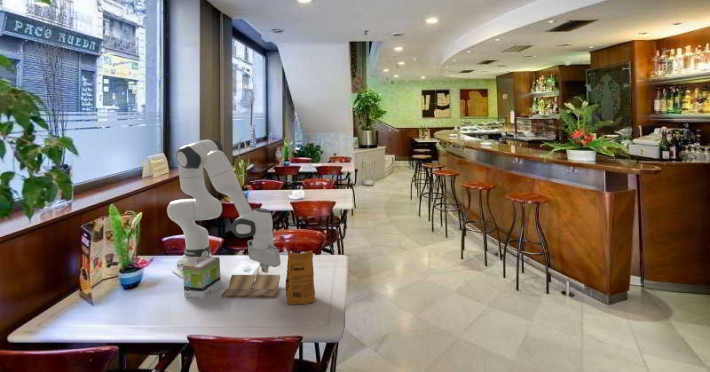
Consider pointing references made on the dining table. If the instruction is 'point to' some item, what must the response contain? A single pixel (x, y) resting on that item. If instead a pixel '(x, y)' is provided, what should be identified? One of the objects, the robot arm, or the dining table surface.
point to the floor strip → (249, 293)
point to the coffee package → (300, 278)
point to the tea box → (201, 276)
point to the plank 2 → (267, 282)
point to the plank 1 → (241, 282)
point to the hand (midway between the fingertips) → (265, 272)
